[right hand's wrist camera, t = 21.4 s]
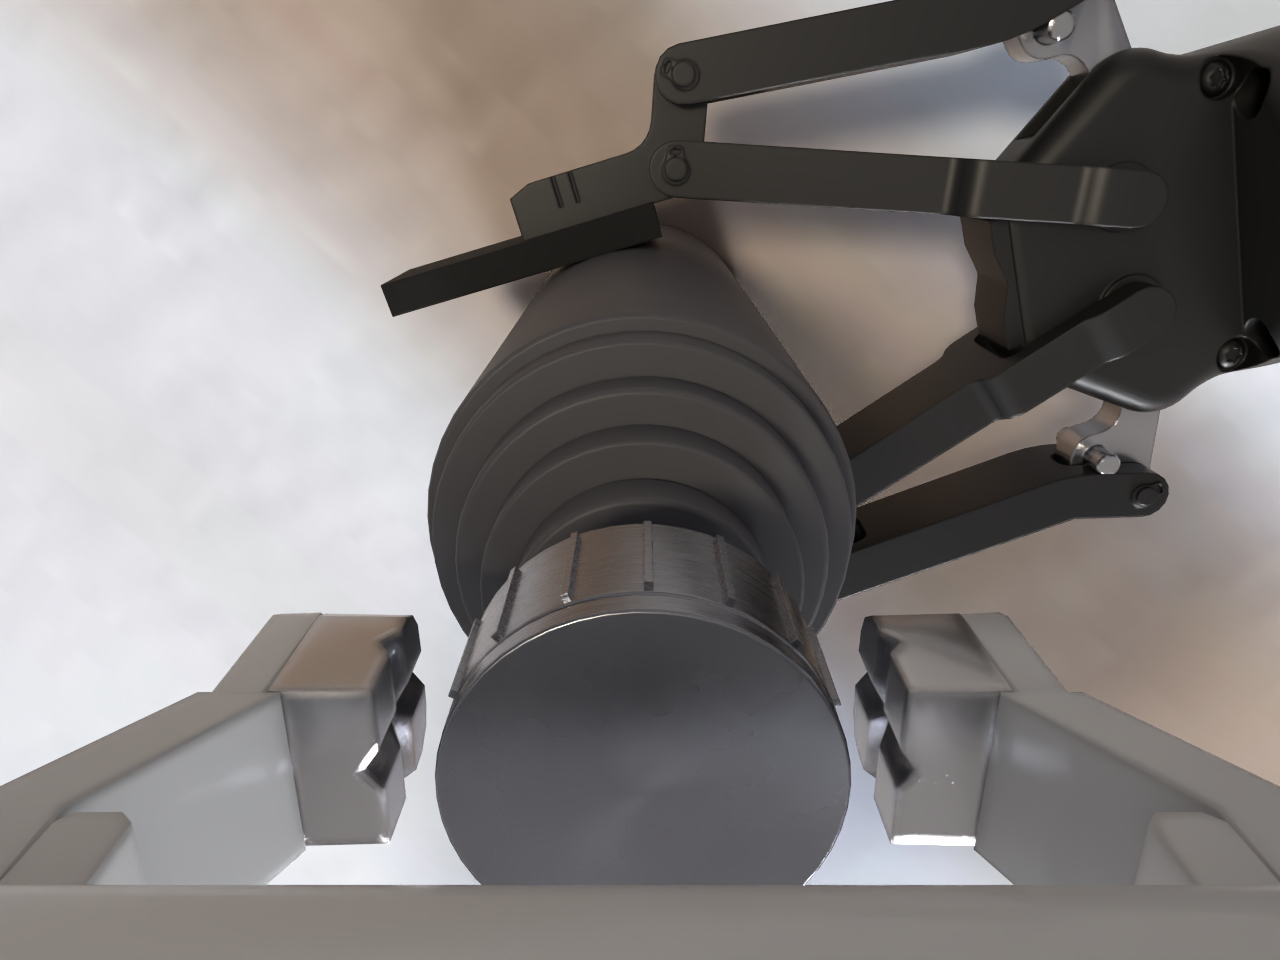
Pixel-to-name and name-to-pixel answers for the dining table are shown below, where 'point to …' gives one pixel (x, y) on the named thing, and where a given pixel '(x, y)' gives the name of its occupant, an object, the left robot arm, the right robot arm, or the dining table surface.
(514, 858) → the cap
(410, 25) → the dining table surface
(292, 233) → the dining table surface
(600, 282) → the bottle
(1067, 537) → the dining table surface
